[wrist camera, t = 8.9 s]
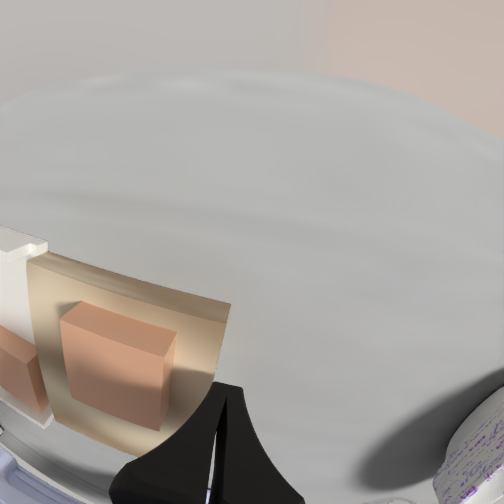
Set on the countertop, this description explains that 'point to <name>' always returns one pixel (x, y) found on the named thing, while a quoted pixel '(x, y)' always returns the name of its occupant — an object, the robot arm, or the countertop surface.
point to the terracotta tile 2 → (118, 364)
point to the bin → (19, 305)
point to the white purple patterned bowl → (475, 457)
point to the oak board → (134, 306)
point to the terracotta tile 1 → (21, 370)
